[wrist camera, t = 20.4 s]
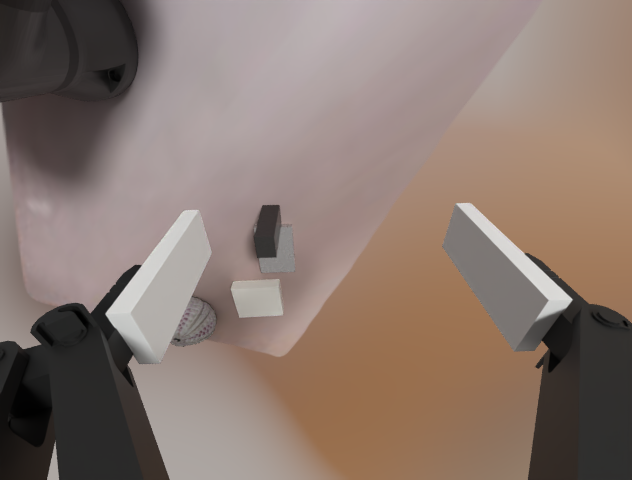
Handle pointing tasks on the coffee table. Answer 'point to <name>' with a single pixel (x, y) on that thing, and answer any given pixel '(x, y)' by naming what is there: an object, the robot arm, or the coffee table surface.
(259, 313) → the tile
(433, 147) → the coffee table surface
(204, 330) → the sea urchin shell
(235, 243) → the coffee table surface
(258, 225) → the grey l-shaped block
